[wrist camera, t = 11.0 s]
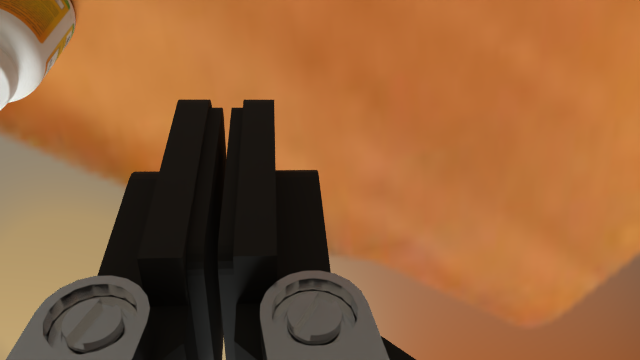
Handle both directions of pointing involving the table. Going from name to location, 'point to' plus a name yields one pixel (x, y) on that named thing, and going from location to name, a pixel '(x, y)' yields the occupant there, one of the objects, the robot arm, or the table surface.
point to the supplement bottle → (31, 43)
